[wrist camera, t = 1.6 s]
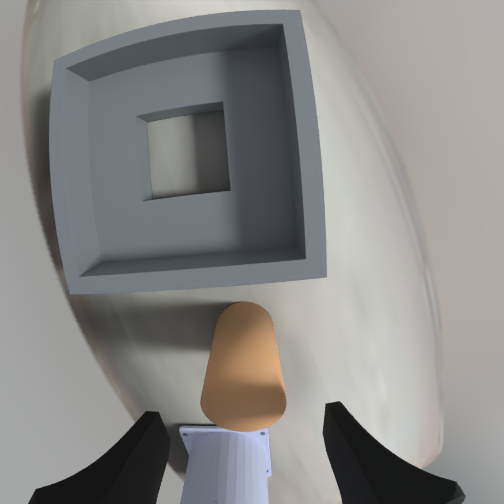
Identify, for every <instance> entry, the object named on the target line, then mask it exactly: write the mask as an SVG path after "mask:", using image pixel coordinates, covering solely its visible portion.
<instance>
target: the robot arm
mask: <svg viewBox="0 0 504 504" xmlns="http://www.w3.org/2000/svg"><path fill="white" fill-rule="evenodd" d="M179 432H180V434H181V437H182V439H183V442H184V444H185V447H186V449H187V452H188V454H189V459H188V464H187V470H186V475H185V481H184V486H183V492H182V498H181V503H180V504H269V501H268V485H267V477H270V476H271V475H272V474H271V462H270V450H269V439H268V427H267V428H264V429H261V430H257V431H252V432H237V431H231V430H227V429H224V428H222V427H219V426H180V428H179ZM186 433H187V434H186ZM323 437H324V442H325V447H326V452H327V455H328V458H329V461H330V464H331V467H332V470H333V473H334V476H335V478H336V481H337V484H338V487H339V490H340V494H341V498H342V503H343V504H461V503H462V502H463V501H464V499H465V495H464V493H463V491H462V489H461V488H460V486H459V485H458V484H457V482H455V481H452V480H448V479H445V478H441V477H438V476H435V475H433V474H430V473H428V472H426V471H423V470H421V469H419V468H417V467H415V466H413V465H412V464H410V463H408V462H406V461H404V460H403V459H401V458H400V457H398V456H397V455H395V454H394V453H392V452H391V451H389V450H388V449H387V448H385V447H384V446H383V445H382V444H381V443H379V442H378V441H377V440H376V439H375V438H374V437H373V436H371V435H370V434H369V433H368V432H367V431H366V430H365V429H364V428H363V427H362V426H361V425H360V424H359V423H358V422H357V420H356V419H355V418H354V417H353V416H352V415H351V414H350V412H349V411H348V410H347V409H346V408H345V406H344V405H343V404H342V403H341V402H340V401H338V402H333V403H327V404H326V406H325V416H324V425H323ZM169 447H170V438H169V436H168V433H167V431H166V429H165V426H164V424H163V421H162V419H161V416H160V414H159V412H151V411H146V412H145V413H144V414H143V415H142V416H141V417H140V418H139V420H138V421H137V422H136V423H135V424H134V425H133V426H132V427H131V428H130V429H129V431H128V432H127V433H126V434H125V435H124V436H123V437H122V438H121V439H120V440H119V441H118V442H117V443H116V444H115V445H114V446H113V447H112V448H111V449H109V450H108V451H107V452H106V453H105V454H104V455H103V456H101V457H100V458H99V459H98V460H96V461H95V462H94V463H92V464H91V465H89V466H88V467H86V468H85V469H83V470H81V471H79V472H78V473H76V474H74V475H72V476H70V477H68V478H66V479H64V480H62V481H59V482H57V483H54V484H51V485H48V486H45V487H42V488H38V489H36V490H35V492H34V494H33V495H32V497H31V499H30V501H29V503H28V504H156V501H157V497H158V493H159V489H160V485H161V482H162V478H163V475H164V471H165V467H166V464H167V460H168V455H169Z"/></svg>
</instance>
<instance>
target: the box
mask: <svg viewBox="0 0 504 504" xmlns="http://www.w3.org/2000/svg"><path fill="white" fill-rule="evenodd" d="M221 110H224V119H225V132H226V144H227V156H228V167H229V179H230V190H229V191H219V192H210V193H200V194H192V195H183V196H176V197H168V198H160V199H153V197H152V187H151V176H150V164H149V151H148V134H147V122H151V121H156V120H161V119H167V118H172V117H178V116H184V115H191V114H198V113H205V112H213V111H221ZM49 158H50V177H51V190H52V200H53V209H54V217H55V224H56V231H57V237H58V243H59V248H60V253H61V258H62V263H63V268H64V272H65V277H66V281H67V285H68V289H69V293H70V295H71V294H102V293H126V292H147V291H165V290H182V289H197V288H211V287H225V286H238V285H250V284H262V283H273V282H284V281H295V280H305V279H315V278H325V277H327V265H326V228H325V206H324V189H323V175H322V162H321V151H320V140H319V130H318V121H317V113H316V105H315V97H314V89H313V82H312V75H311V69H310V62H309V56H308V50H307V45H306V39H305V34H304V28H303V23H302V18H301V13H300V10H252V11H237V12H226V13H217V14H209V15H201V16H195V17H189V18H183V19H178V20H173V21H168V22H164V23H159V24H155V25H151V26H147V27H143V28H140V29H136V30H133V31H129V32H126V33H123V34H119V35H116V36H113V37H110V38H107V39H105V40H102V41H99V42H96V43H94V44H91V45H89V46H86V47H84V48H81V49H79V50H76V51H74V52H72V53H69V54H67V55H65V56H63V57H61V58H59V59H56V60H55V61H54V68H53V76H52V86H51V98H50V116H49Z"/></svg>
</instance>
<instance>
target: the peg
mask: <svg viewBox="0 0 504 504" xmlns="http://www.w3.org/2000/svg"><path fill="white" fill-rule="evenodd" d="M201 408H202V411H203V412H204V414H205V416H206V417H207V418H208V419H209V420H210V421H211V422H213V423H214V424H216V425H217V426H219V427H222V428H224V429H227V430H231V431H237V432H252V431H257V430H261V429H264V428H267V427H269V426H271V425H272V424H274V423H275V422H276V421H278V420H279V419H280V418H281V416H282V415H283V413H284V411H285V409H286V396H285V390H284V384H283V378H282V373H281V367H280V361H279V355H278V349H277V344H276V338H275V332H274V327H273V321H272V318H271V316H270V315H269V313H268V312H267V311H266V310H265V309H264V308H263V307H261V306H259V305H257V304H255V303H251V302H238V303H234V304H232V305H230V306H228V307H226V308H225V309H224V310H223V311H222V312H221V313H220V315H219V317H218V319H217V323H216V328H215V332H214V337H213V342H212V346H211V351H210V356H209V361H208V366H207V370H206V375H205V380H204V385H203V390H202V395H201Z"/></svg>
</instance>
